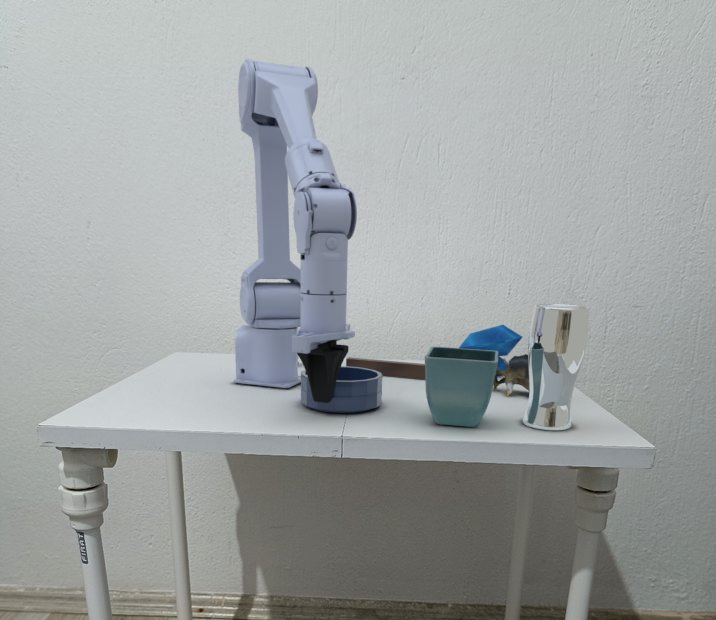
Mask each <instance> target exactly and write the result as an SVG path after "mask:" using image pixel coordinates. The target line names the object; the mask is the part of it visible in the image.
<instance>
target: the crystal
mask: <svg viewBox="0 0 716 620" xmlns="http://www.w3.org/2000/svg"><path fill="white" fill-rule="evenodd" d="M522 339H523V336H522V335H521V334H519V333H517V332H516V331H514V330H513V329H511V328H509V327H508V326H506V325H505V324H500V325H497V326H492V327H489V328H485V329H481V330H478V331H474V332H470V333H469V334H468V335H467V337H466V338H465V339H464V340H463V341H462V343H461V345H460V346H459V347H458V348H461V349H477V350H493V351H498V365H497V367H498V368H499V371H501V370H506V369H507V366H506V364H505V362H504V358H502V357H507V356H509V354H510V353H511V352H512V351H513V349H514V348H515V347H516V346H517V345H518V344H519V342H520V341H521V340H522ZM507 363H508V364H509V361H507ZM499 376H500V375H497V377H499Z"/></svg>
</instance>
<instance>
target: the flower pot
mask: <svg viewBox="0 0 716 620" xmlns="http://www.w3.org/2000/svg"><path fill="white" fill-rule="evenodd" d="M424 364H425V380H424V381H425V395H426V402H427V405H428V408H429V412H430V414H431V416H432V418H433V420H434V422H435V423H436V424H437V425H440V426H443V425H444V426H445V425H446V426H455V427H456V426H457V427H467V428H475V427H477V426H478V424H479V423H480V422H481V420H482V419H483V417H484V415H485V414H486V411H487V409H488V406H489V404H490V401H491V398H492V393H493V390H494V389H493V387H494V385H493V384H494V379H495V374H496V369H497V365H498V351H493V350H477V349H461V348H459V347H448V346H447V347H446V346H431V347H430V348H429V350H428V352H427V353H426V354H425V356H424Z"/></svg>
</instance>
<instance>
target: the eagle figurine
mask: <svg viewBox="0 0 716 620" xmlns="http://www.w3.org/2000/svg"><path fill="white" fill-rule="evenodd" d="M503 359H504V362H505V364H506V366H507V369H506V370H501V371H499V368H498V367H497V369H496V374H495V379H494V384H493V389H492V390H494V391H496V390H497V389H498V386H500V385H502V384H505V387H506V397H509V396H510V394H512V393H513V389H514V385H519V386H522V387H523V388H525V390H527V391H528V392H529V369H528V354H527V353H525V354H523V355H514V356H513V357H511V358H510V360H508V361H507V360H506V357H503ZM507 362H508V363H509V364H508V363H507ZM497 375H499V376H503V377H502V378H501V379H499V380H498V376H497Z"/></svg>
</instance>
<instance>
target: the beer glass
mask: <svg viewBox="0 0 716 620" xmlns="http://www.w3.org/2000/svg"><path fill="white" fill-rule="evenodd" d="M589 316H590V307H588V306H584V305H575V304H563V303H562V304H561V303H538V304H535V305H534V308H533V313H532V317H531V318H532V319H531V322H530V323H531V324H530V328H529V336H528V344H527V345H528V346H527V355H528V369H529V391H528V392H529V393H528V399H527V400H528V401H527V404H526V408H525V411H524V414H523V418H522V423H523V424H524V425H525V426H527V427H529V428H532V429H538V430H544V431H565V430H569V429H570V428H571V426H572V413H571V408H572V407H571V406H572V398H573V392H574V389H575V386H576V383H577V380H578V377H579V374H580V371H581V368H582V365H583V362H584V357H585V353H586V348H587V342H588V333H589V321H590V317H589Z"/></svg>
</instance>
